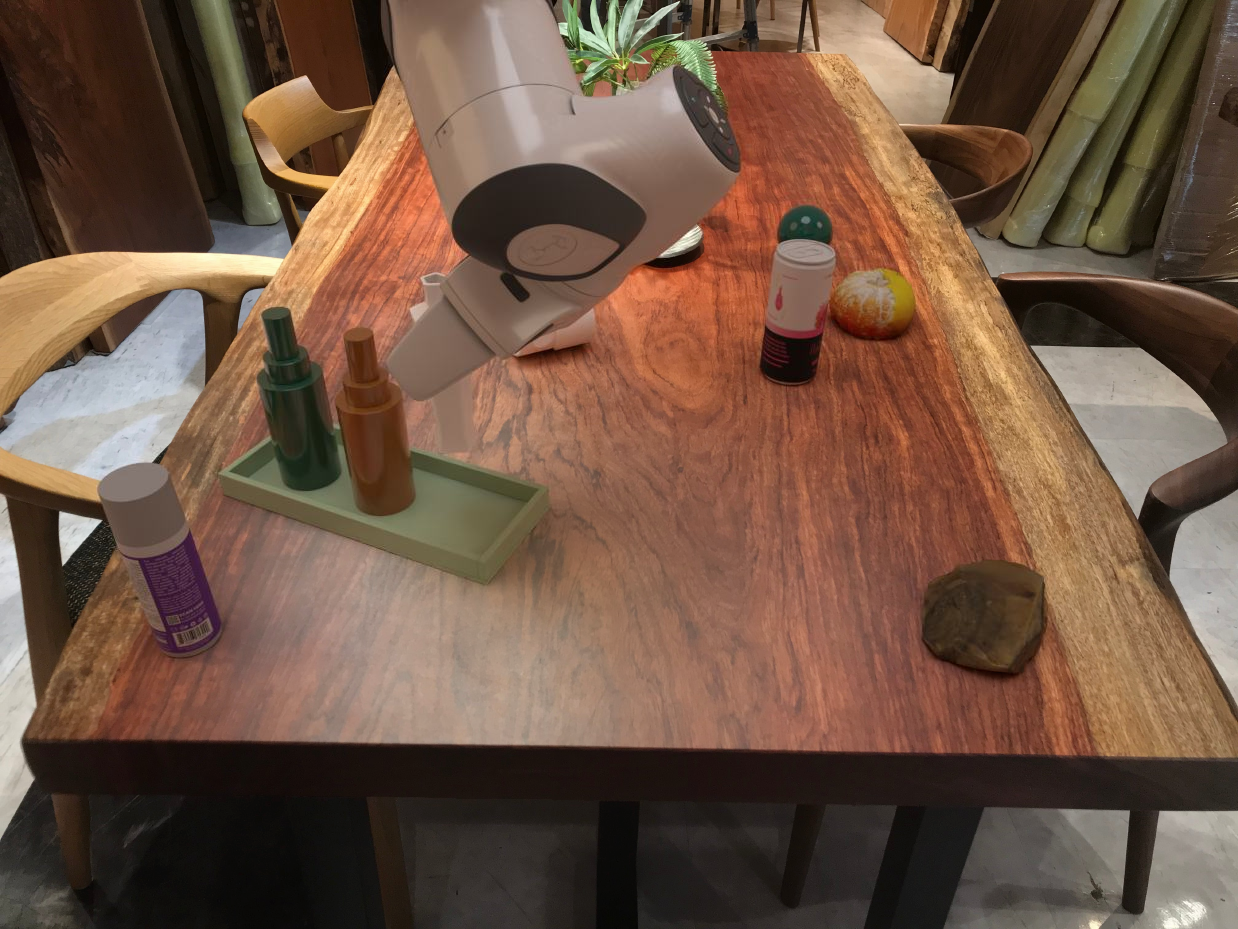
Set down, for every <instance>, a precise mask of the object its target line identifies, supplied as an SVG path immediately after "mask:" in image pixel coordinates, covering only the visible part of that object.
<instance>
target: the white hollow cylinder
mask: <svg viewBox="0 0 1238 929" xmlns="http://www.w3.org/2000/svg"><path fill="white" fill-rule="evenodd" d="M595 314H596V312H595V307H594V308H592V309H591V310H590V311H589V312H587V313H586V314H585V315H584V316H582V317H581V318H580V319H578V320H577V321H576V322H575V323H573V324H572V325H571V326H569V327H567V328H563V329H559V330H557V331H554V332H552V333H550V334H547V335H544V336H541V337H539V338H538V339H536V340H534V341H533V342H531V343H529V344H528V345H526V346H525V347H523V348H522V349H521V350H520V351H518V352H517V353H516V354H515V353H514V354H513V355H512V356H514V357H517V358H518V357H522V356H526V355H530V354H534V353H538V352H543V351H547V350H550V349H553V350H554V351H558V350H561V349H566V348H571V347H574V346H579V345H583V344H587V343H590V342H591V341H592V340H593V338H594V336H595V330H596V315H595Z"/></svg>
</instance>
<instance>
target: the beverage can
mask: <svg viewBox="0 0 1238 929" xmlns="http://www.w3.org/2000/svg"><path fill="white" fill-rule="evenodd" d="M836 262H837V258H836V250H835V249H834V248H832V246H831V245H830V246H828V245H826V244H824V243H821V242H818V241H813V240H805V239H795V240H788V241H784V242H782V243H780V244H777V245H776V250H775V251H774V253H773V260H772V268H771V275H770V283H769V291H768V299H767V307H766V315H765V323H764V328H763V329H764V331H763V337H762V345H761V352H760V361H759V370H760V372H761V373H762V374H763V375H764V376H765V377H766V378H767V379H768V380H770V381H772V382H774V383H778V384H781V385H787V386H796V385H803V384H806V383H807V382H809V381H811V380H813V379H814V378H815V377H816V375H817V371H818V365H819V361H820V354H821V348H822V342H823V338H824V337H823V336H824V331H825V325H826V319H827V315H828V314H827V313H828V308H829V304H830V303H829V300H830V298H831V291H832V284H833V281H834V280H833V279H834V273H835V267H836Z"/></svg>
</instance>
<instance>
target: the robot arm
mask: <svg viewBox="0 0 1238 929" xmlns="http://www.w3.org/2000/svg"><path fill="white" fill-rule="evenodd" d="M380 21H381V23H380V24H381V32H382V36H383V37H382V38H383V41H384V43H385V46H386V48H387V52H388V54H389V57H390V59H391V62H392V65H393V67H394V70H395V72H396V74H397V76H398V78H399V81H400V82H401V85H402V87H403V91H404V94H405V97H406V100H407V103H408V106H409V109H410V112H411V116H412V118H413V121H414V125H415V128H416V131H417V134H418V137H419V141H420V143H421V146H422V150H423V152H424V155H425V156H424V157H425V159H426V163H427V166H428V169H429V173H430V175H431V179H432V181H433V184H434V187H435V191H436V194H437V197H438V200H439V202H440V205H441V209H442V211H443V215H444V218H445V220H446V222H447V225H448V227H449V229H450V231H451V234H452V237H453V240H454V242H455V243H456V245H457V246H458V247H459V248H460V249H461V251H463V252H464V253H466V254H467V255H466V256H465V257H464V258H462V259H461V260H460V261H459V262H458V263H457V264H456V265H455V266H454V267H453V268H452V269H450V271H449V272H448V273H446V274H445V275H446V276H445V277H444V278H443V279H442V280H441V282H440V284H439V286H440V288H441V290H442V291H443V293H442V294H441V295H440V296H439V297H438V298H437V299H436V300H435V301H434V302H433V303H432V304H431V306H430V307H429V308H428V309H427V310H426V311H425V312H424V313H423V314H422V316H421V317H420V318H419V319H418V320H417V322H416V323H415V324H414V325H413V324H412V326H411V327H410V328H409V330H408V331H407V332H406V333H405V334H404V336H403V337H402V338H401V339H400V341H399V342H398V343H397V344H396V345H395V347H394V348H393V349H392V351H390V353H389V355H388V356H387V359H386V363H385V368H386V370H387V372H388V374H390V376H391V377H392V378H393V380H395V382H396V383H397V384H398V385H399V386H400V388H401V389H402V390H403V391H404V392H405V393H406V394H407V395H408V396H409V397H410V398H412V400H414V401H416V402H424V401H427V400H430V398H432V397H434V396H435V395H437V394H439V393H440V392H442V391H443V390H445V389H447V388H448V387H450V386H451V385H453V384H455V383H456V382H458V381H459V380H461V379H463V378H464V377H466V376H467V375H469V374H470V373H472V374H473V373H474V372H475V371H477V370H478V369H480V368H481V367H483V366H484V365H486V364H488V363H489V362H490V361H492V360H494V359H495V358H497V357H498V358H499V359H500V360H503V361H505V360H506V361H507V360H508V359H509V358H511V357H512V356H514V355H513V354H514V353H515V354H516V353H517V352H518V351H520V350H521V349H522V348H523V347H525V346H526V345H528V344H529V343H531V342H533V341H534V340H536V339H538V338H539V337H541V336H544V335H547V334H550V333H552V332H554V331H557V330H559V329H563V328H567V327H569V326H571V325H572V324H573V323H575V322H576V321H577V320H578V319H580V318H581V317H582V316H584V315H585V314H586V313H587V312H589V311H590V310H591V309H592V308H594V309H595V307H597V306H598V305H599V304H600V303H601V302H603V301H604V300H605V299H606V298H607V297H609V296H610V295H612V294H613V293H614V292H616V291H617V290H618V289H619V288H620V287H621V286H622V284H623V283H624V282H625V280H626V279H627V277H628V276H629V274H630V273H631V272H632V270H634V269H635V268H636V267H638V266H640V265H643V264H646V263H649V262H651V261H654V260H655V259H658V257H660V256H661V255H662V254H664V253H665V252H666V251H667V250H669V249H670V248H671V247H672V246H674V245H675V244H676V243H678V242H679V241H680V240H681V239H682V238H683V237H685V236H686V235H687V234H688V233H690V231H691V230H693V229H694V228H695V227H696V226H697V225H698V224H699V223H700V222H702V221H703V219H704V218H706V217H707V216H708V214H710V212H711V211H712V210H714V208H715V207H717V205H719V203H720V202H721V201H722V200H723V199H724V198H725V197H726V195H727V194H728V193H729V191H731V189H732V187H733V186H735V183H736V182H737V180H738V178H739V177H740V174H741V169H742V162H741V157H742V154H741V150H740V146H739V143H738V141H737V139H736V136H735V133H734V131H733V128H732V126H731V124H730V121H729V119H728V117H727V115H726V113H725V111H724V109H723V107H722V106H721V105H720V104H719V102H718V101H717V99H716V98H715V95H714V93H713V91H711V89H710V88H709V87H708V86H707V85H706V84H705V83H704V81H703V80H702V79H701V78H699V76H698V75H697V74H695V73H694V72H693V71H691V70H689V69H687V68H686V67H684V66H682V65H680V64H672V65H669V66H667V67H665V68H663V69H661V70H660V71H658V72H656V73H655V74H653V75H652V76H650V77H649V78H648V79H646V80H645V81H643V82H642V83H640V84H639V85H638V86H636V87H635V88H634V89H632V90H631V91H630V92H626V93H621V94H616V95H611V96H587V95H584V92H583V90H582V87H581V84H580V82H579V79H578V76H577V73H576V70H575V68H574V65H573V63H572V61H571V57H570V54H569V52H568V50H567V48H566V45H565V42H564V39H563V37H562V33H561V31H560V24H559V22H558V18H557V15H556V12H555V9H554V5H553V1H552V0H380Z"/></svg>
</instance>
